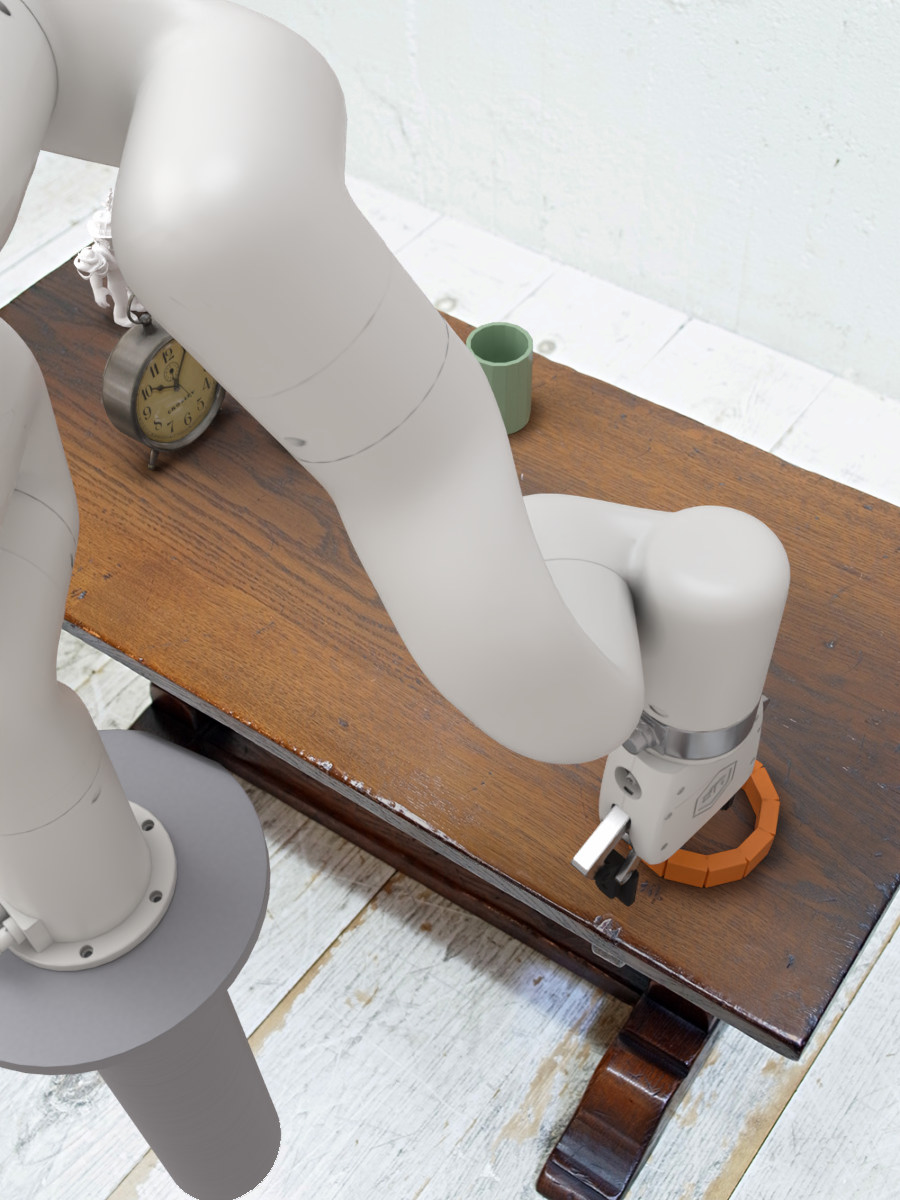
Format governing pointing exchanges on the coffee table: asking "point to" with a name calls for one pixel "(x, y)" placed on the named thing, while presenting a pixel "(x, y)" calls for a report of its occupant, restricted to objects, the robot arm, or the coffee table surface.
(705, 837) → the coffee table surface
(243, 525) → the coffee table surface
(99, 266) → the flower shoulder figurine
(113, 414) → the alarm clock
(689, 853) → the ring
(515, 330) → the cup
